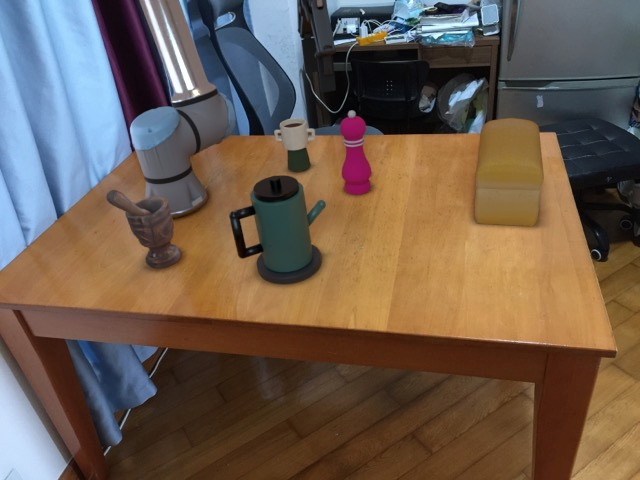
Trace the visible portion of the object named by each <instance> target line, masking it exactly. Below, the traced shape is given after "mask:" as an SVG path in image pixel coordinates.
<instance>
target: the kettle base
mask: <svg viewBox="0 0 640 480" xmlns="http://www.w3.org/2000/svg"><path fill="white" fill-rule="evenodd" d="M311 244H312V251H313V257H312V260H311V261H310V262H309V263H308V264H307V265H306V266H304V267H303V268H301V269H298V270H295V271H291V272H276V271H272V270H270V269H268V268H267V267H266V266H265V264H264V261H263V256H262V253H259V255H258V256H257V259H256V270H257V273H258V275H259V277H260V278H262V280H264V281H266V282H267V283H271V284H275V285H292V284H297V283H301V282H303V281H306V280H308V279H309V278H311V277H313V276H314V275H315V274H316V273H317V272H318V271H319V270H320V268H321V267H322V255H321V251H320V249H319V248H318V247H317V246H316V245H314V244H313V243H311Z"/></svg>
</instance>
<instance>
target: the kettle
mask: <svg viewBox="0 0 640 480" xmlns="http://www.w3.org/2000/svg"><path fill="white" fill-rule="evenodd" d="M303 185H304V184H303V183H301V182H299V181H298V179H297V178H295V177H293V176H291V175H285V174H284V175H283V174H280V175H271V176H268V177H265V178H263V179H260V180H259V181H257V182H256V183H255V184H254V185H253V188H252V190H251V191H250V194H249V197H250V203H251V205H249V206H245V207H242V208H239V209H236V210H233V211H231V212H230V213H229V214H228V218H229V222H230V226H231V230H232V235H233V238H234V243H235V248H236V252H237V256H238V257H239V259H242V260H243V259H247V258H250V257H253V256H256V255H258V254H259V255H260V254H261V253H262V256H263V261H264V264H265V266H266V267H267V268H268V269H270V270H272V271H276V272H291V271H295V270H298V269H301V268H303V267H304V266H306V265H307V264H308V263H309V262H310V261H311V260H312V257H313V251H312V244H313V243H312V238H311V231H310V227H311V225H312V224H313V223H314V221H316V219H317V218H318V216H320V214H321V213H322V212H323V210H325V208H326V205H327V203H326V201H325V200H324V199H319V200H317V201H316V203H315V204H314V205H313V206H312V208H311V209H310V211H309V212H308V211H307V210H308V209H307V203H306V196H305V190H304V186H303ZM251 216H253V218H254V221H255V226H256V232H257V237H258V241H259V243H257V244H254V245H252V246H251V245H250V246H248V247H247V245H246V240H245V236H244V232H243V228H242V223H241V220H242V219H245V218H249V217H251Z"/></svg>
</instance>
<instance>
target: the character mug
mask: <svg viewBox="0 0 640 480" xmlns="http://www.w3.org/2000/svg"><path fill="white" fill-rule="evenodd" d="M273 133H274V139H275V141H276V142H278V143H279V142H281V144H282V147H283V148H284V149H285V150H286V151H287V155H286V157H287V169H288V170H289V171H292V172H295V173H296V172H302V171H306V170H307V169H308V168H310V167H311V166H312V165H311V159H310V156H309V152H308V149H307V147H308V145H310V144H309V143H310V142H312V141H316V130H315V128H308V123H307V120H306V119H305V118H302V117H292V118H287V119H285V120H282V121H281V122H280V123H279V129H275V130H274V131H273ZM309 133H310V134H311V136H309ZM279 134H280V137H279Z"/></svg>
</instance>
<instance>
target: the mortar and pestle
mask: <svg viewBox="0 0 640 480" xmlns="http://www.w3.org/2000/svg"><path fill="white" fill-rule="evenodd" d="M105 198H106V201H107V203H109V204H110V205H112V206H113V207H115V208H116V209H119V210H122V211H123V212H125V218H126V219H127V223H128V225H129V228H130V230H131V232H132V234H133V236H135V238H136V239H137V240H138V242H139V244H140V245H141V246H142V247H144V248H148V252H147V254H146V256H145V264H146V265H147V266H149V267H150V268H152V269H158V270H159V269H164V268H168V267H170V266H172V265H174V264H176V263H177V262H178V261H179V260H180V258H181V257H182V252H181V250H180V248H179V246H178V245H177V244H174V243H171V241H172V239H173V237H174V233H175V231H174V227H175V226H174V225H175V224H174V218H172V215H171V212H170V208H169V205H168V200H167V199H165V198H163V197H149V198H145V197H144V198H141V199H139V200H136V201H135V202H133V201H131V199H130V198H129V197H127V196H126V195H125V194H124V193H122V192H121V191H119V190H116V189H111V190H109V191H108V192H107V193H106V196H105Z"/></svg>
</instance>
